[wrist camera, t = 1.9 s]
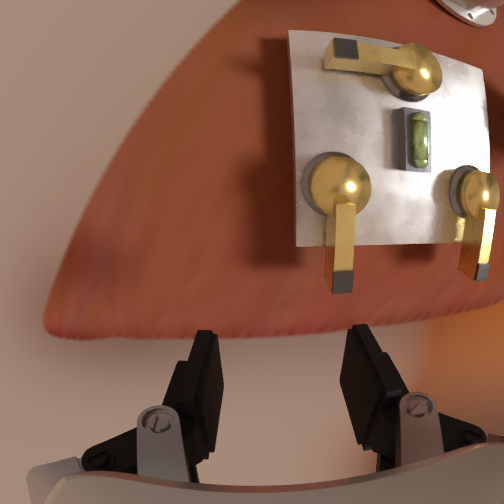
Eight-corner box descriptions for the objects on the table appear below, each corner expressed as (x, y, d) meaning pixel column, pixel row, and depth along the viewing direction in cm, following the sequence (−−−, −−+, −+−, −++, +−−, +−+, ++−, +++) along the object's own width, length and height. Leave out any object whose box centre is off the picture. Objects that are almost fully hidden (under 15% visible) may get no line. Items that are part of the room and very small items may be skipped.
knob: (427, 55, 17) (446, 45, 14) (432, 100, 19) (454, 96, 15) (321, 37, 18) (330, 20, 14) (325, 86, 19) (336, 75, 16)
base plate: (286, 38, 20) (291, 18, 16) (471, 73, 19) (495, 66, 15) (293, 240, 26) (299, 256, 21) (471, 236, 25) (495, 249, 21)
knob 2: (456, 166, 20) (479, 170, 17) (487, 172, 20) (509, 176, 17) (446, 270, 23) (464, 283, 20) (476, 267, 23) (495, 280, 20)
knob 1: (306, 156, 21) (315, 156, 18) (362, 157, 21) (378, 158, 17) (306, 277, 24) (312, 296, 21) (357, 275, 24) (369, 292, 20)
